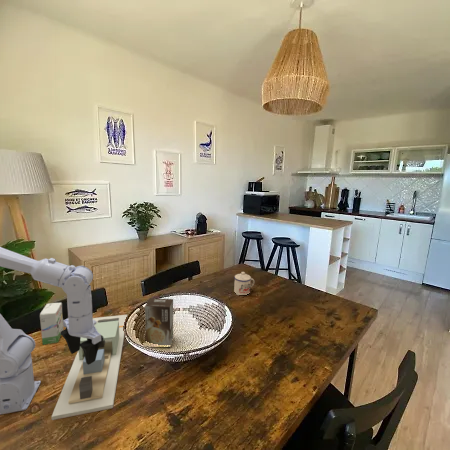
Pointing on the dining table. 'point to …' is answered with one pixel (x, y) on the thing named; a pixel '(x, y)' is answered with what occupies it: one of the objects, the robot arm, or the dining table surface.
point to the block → (94, 363)
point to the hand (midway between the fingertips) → (83, 356)
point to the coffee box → (159, 321)
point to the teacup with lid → (242, 284)
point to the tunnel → (105, 335)
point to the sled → (92, 379)
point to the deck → (110, 384)
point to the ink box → (51, 323)
